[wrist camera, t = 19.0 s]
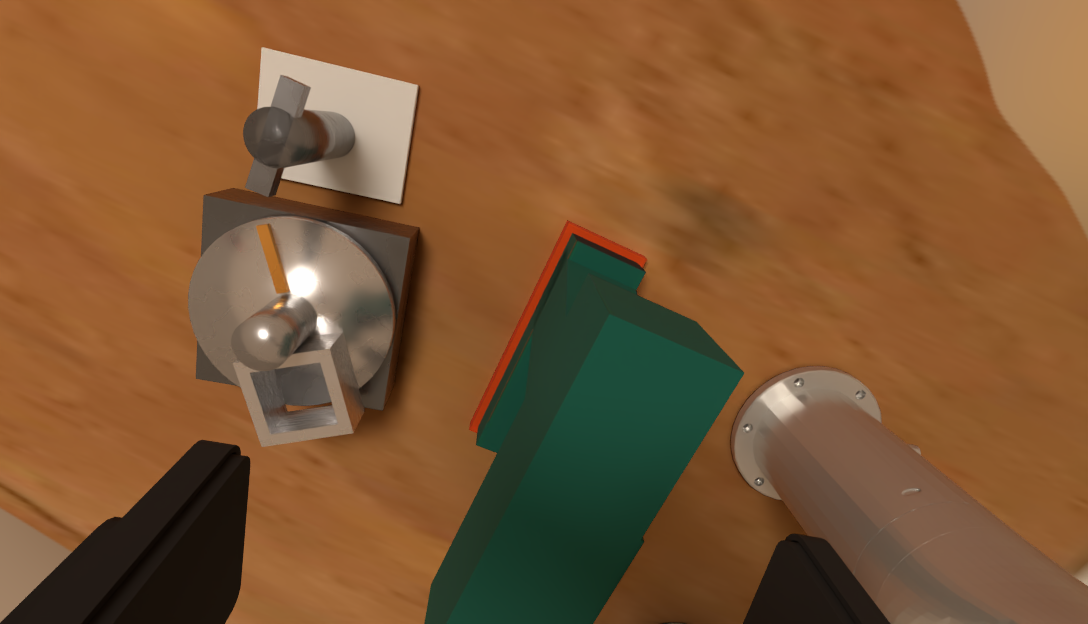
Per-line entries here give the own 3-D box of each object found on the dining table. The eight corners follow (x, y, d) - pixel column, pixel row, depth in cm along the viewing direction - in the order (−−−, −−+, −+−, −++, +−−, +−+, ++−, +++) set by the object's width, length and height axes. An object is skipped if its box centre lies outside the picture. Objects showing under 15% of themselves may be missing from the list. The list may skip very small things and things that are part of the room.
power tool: (483, 570, 51) (468, 833, 32) (410, 547, 50) (349, 806, 31) (650, 258, 43) (761, 367, 24) (567, 220, 41) (615, 302, 23)
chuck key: (369, 102, 38) (322, 94, 28) (339, 185, 39) (285, 204, 30) (325, 81, 37) (262, 66, 27) (296, 166, 39) (227, 180, 29)
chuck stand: (419, 227, 41) (410, 238, 37) (393, 386, 45) (382, 410, 41) (233, 188, 39) (203, 194, 36) (223, 356, 43) (195, 378, 39)
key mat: (419, 85, 38) (417, 85, 37) (401, 202, 40) (400, 203, 40) (265, 48, 37) (261, 47, 36) (256, 171, 39) (253, 172, 38)
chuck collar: (370, 201, 36) (344, 216, 30) (416, 396, 40) (401, 441, 35) (167, 231, 36) (102, 252, 30) (236, 423, 40) (191, 473, 35)
